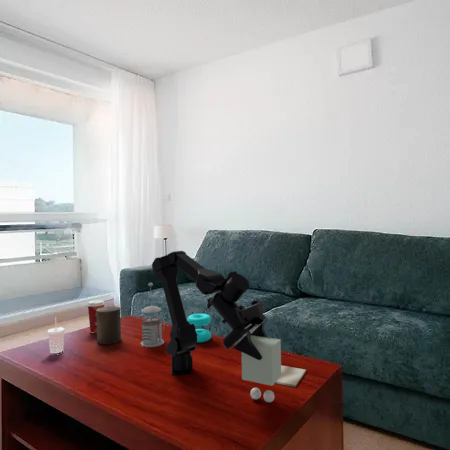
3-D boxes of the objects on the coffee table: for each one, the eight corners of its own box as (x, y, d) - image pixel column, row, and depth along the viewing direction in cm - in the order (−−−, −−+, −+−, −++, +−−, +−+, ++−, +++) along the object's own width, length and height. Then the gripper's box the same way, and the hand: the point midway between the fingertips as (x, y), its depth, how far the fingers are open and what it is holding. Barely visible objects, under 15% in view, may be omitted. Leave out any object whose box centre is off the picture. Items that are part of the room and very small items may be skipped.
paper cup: (100, 334, 160) (99, 303, 160) (84, 334, 161) (83, 303, 161) (109, 329, 168) (108, 299, 167) (94, 328, 169) (93, 299, 169)
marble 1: (251, 402, 98) (251, 391, 98) (249, 396, 101) (249, 386, 101) (262, 400, 99) (262, 390, 99) (259, 395, 102) (259, 385, 102)
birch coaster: (258, 379, 112) (257, 377, 112) (271, 365, 122) (271, 363, 122) (295, 387, 106) (295, 385, 106) (305, 371, 117) (305, 369, 117)
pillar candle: (116, 344, 147) (116, 308, 147) (93, 345, 147) (92, 308, 147) (123, 337, 156) (123, 302, 156) (101, 337, 156) (101, 303, 156)
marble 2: (265, 405, 97) (264, 394, 97) (262, 399, 100) (262, 388, 100) (275, 403, 97) (275, 393, 97) (272, 398, 100) (272, 387, 100)
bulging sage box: (242, 379, 98) (241, 343, 98) (252, 369, 104) (251, 335, 104) (272, 385, 94) (271, 348, 94) (281, 374, 100) (280, 339, 100)
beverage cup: (60, 355, 136) (59, 318, 136) (44, 355, 136) (43, 319, 136) (68, 349, 142) (67, 314, 142) (53, 349, 142) (51, 314, 142)
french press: (152, 337, 155) (151, 279, 154) (172, 342, 148) (170, 282, 147) (135, 344, 147) (133, 283, 146) (154, 349, 140) (152, 286, 139)
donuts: (210, 319, 145) (185, 319, 146) (210, 343, 146) (186, 343, 146) (211, 312, 155) (188, 312, 156) (212, 335, 156) (189, 335, 156)
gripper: (232, 299, 92) (274, 348, 87) (259, 286, 109) (295, 326, 104) (206, 325, 96) (245, 374, 91) (236, 309, 112) (270, 349, 108)
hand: (266, 354), depth 98 cm, fingers closed on bulging sage box, 7 cm apart
